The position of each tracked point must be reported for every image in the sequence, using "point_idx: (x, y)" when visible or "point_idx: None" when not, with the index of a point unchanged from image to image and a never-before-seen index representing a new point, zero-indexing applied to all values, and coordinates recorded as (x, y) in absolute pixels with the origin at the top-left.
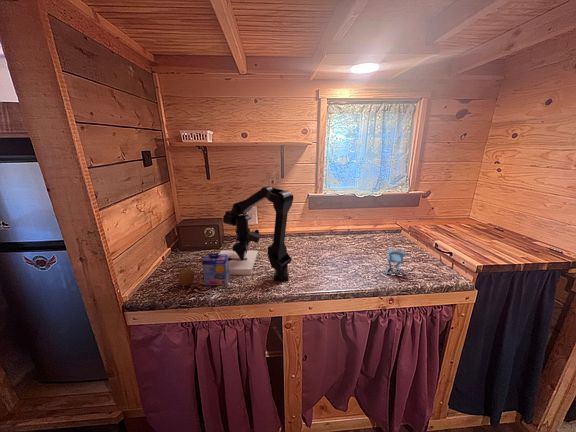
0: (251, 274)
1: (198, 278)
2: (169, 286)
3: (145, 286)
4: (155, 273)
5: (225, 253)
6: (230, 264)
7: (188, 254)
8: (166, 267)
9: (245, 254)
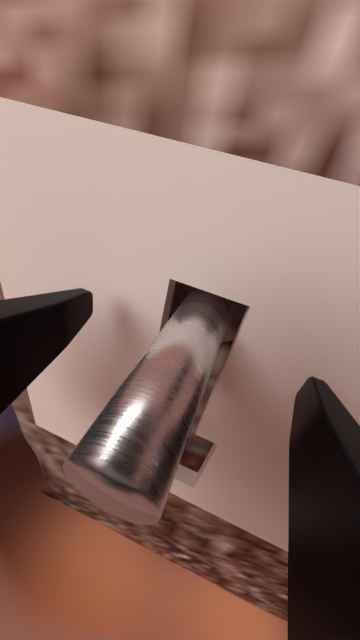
0: None
1: None
2: None
3: (284, 614)
4: (200, 573)
5: (75, 421)
6: (284, 456)
7: (69, 483)
8: (164, 547)
9: (198, 356)
